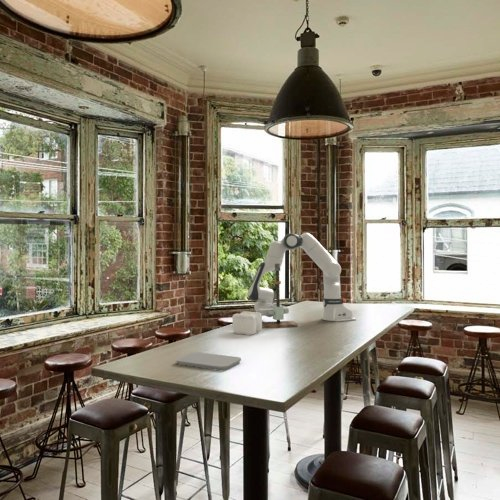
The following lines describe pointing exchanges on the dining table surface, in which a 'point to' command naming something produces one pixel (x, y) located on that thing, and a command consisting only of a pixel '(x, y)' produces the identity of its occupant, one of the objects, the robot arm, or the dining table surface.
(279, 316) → the sleeve
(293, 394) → the dining table surface
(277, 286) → the stand
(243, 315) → the cable organizer
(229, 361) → the tablet
